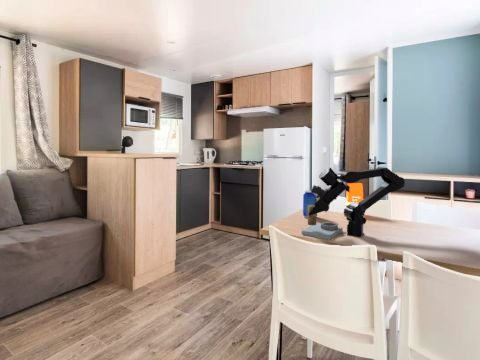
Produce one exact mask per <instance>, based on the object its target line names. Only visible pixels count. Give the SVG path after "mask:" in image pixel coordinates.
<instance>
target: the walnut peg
mask: <svg viewBox="0 0 480 360" xmlns="http://www.w3.org/2000/svg"><path fill="white" fill-rule="evenodd" d="M314 206H315V205H309V206H308V218H307V225H308V226H312V225H316V224H317V216H316V214H313V215H311V216H310V215H309V213H310V211H311V210H312V209H313V207H314Z"/></svg>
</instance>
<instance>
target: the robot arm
mask: <svg viewBox="0 0 480 360" xmlns="http://www.w3.org/2000/svg"><path fill="white" fill-rule="evenodd" d="M379 177H380V179H382V181H383V182H382V184H381V185H380V187H378V188H377V189H375V190H373V191H372V192H371V193H370V194H369V195H367V196H365V197H363V200H362V201H360V202H359V203H356V202H351V203H350V204H349V205H347V206H346V205H345V208H344V209H343V216H344V217H345V218H346V220H347V222H348V224H347V225H346V226H347V227H346V235H347V236H352V237H357V238H361V237H362V236H364V235H365V233H364V225H365V224H367V223H366V222H367V219H366V218H365V216H364V215H365V213H366V211H367V210H368V209H369V208H371V207H372V206H373V205H375V204H376V203H378V202H379V201H380V200H382V199H383V198H385V197H386V196H387V195H388V194H390V193H394V192H397V191H399V190H401V189H403V188H404V187H405V182H406V181H405V179H404V178H403V177H402V176H399V175H398V174H397V173H395V172H393V171H391V169H389V168H388V167H382V166H381V167H380V166H379V167H377V168H372V169H370V168H369V169H362V170H342V171H341V172H339V173H336V172H335V171H334V170H333V168H332V167H327V169H324V170H323V171H321V172H320V174H319V175H318V178H319V179H320V180H321V181H322V182H323V183H324V184H325V185H326V186H328V188H327V187H326V188H325V189H323V188H322V187H321V186H319V185H315V184H313V186H312V187H311V189H310V191H311V192H312V193H315V194H317V196H316V198H317V199H316V198H315V204H314V205H315V206H314V207H313V209H312V210H311V211H310V213H309V215H310V216H311V215H313V214H316V213H317V214H320V213H322V212H325V213H327V212H328V211H329V210H330V205H331V203H332V202H333V201H335V200H337V198H338V197H339V196H341V194H342V193H343V192H344V191H346V192H350V186H349V185H348V183H349V184H352V183H357V182H358V183H359V182H360V181H361V180H366V179H373V178H379ZM339 180H340V181H339ZM346 184H347V185H346Z"/></svg>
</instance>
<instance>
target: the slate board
mask: <svg viewBox="0 0 480 360" xmlns="http://www.w3.org/2000/svg"><path fill="white" fill-rule="evenodd" d="M343 230H344V229H343V227H340V226H339V225H338V223H335V222H330V221H329V222H327V221H325V222H320V223H316V225H309V227H308V226H307V228H304V229H302V230H301V235H302V234H304V235H303V236H307V235H309V236H308V237H313V236H314V238H318V237H319V238H320V239H323V238H324V239H323V240H331V239H333V238H334V237H335V236H338V235H339V234H341V233H343ZM319 238H318V239H319Z"/></svg>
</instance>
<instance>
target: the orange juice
mask: <svg viewBox="0 0 480 360" xmlns="http://www.w3.org/2000/svg"><path fill="white" fill-rule="evenodd" d="M347 185H349V186H350V192H347V191H346V192H345V193H346V197H345V198H346V200H345V207H346V206H347V205H349V204H350V203H351V202H356V203H359V202H360V201H362V200H363V199H364V190H363V189H364V188H363V183H361V182H358V183H357V182H355V183H352V184H349V183H347Z"/></svg>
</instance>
